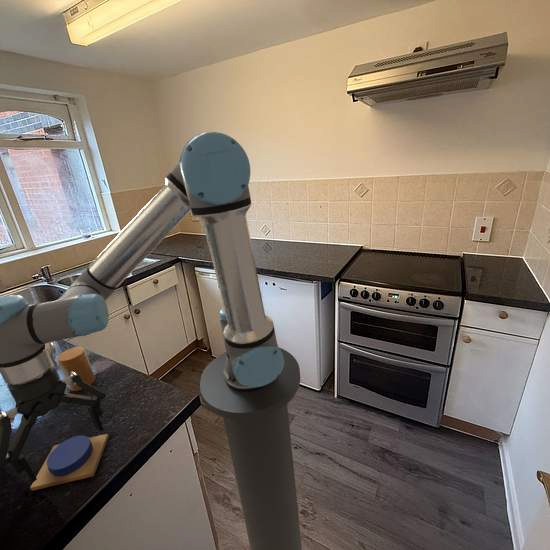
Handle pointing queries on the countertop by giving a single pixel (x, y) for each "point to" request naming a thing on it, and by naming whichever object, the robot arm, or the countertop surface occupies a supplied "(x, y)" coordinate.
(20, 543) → the countertop surface
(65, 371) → the jar
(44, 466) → the mat
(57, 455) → the lid
